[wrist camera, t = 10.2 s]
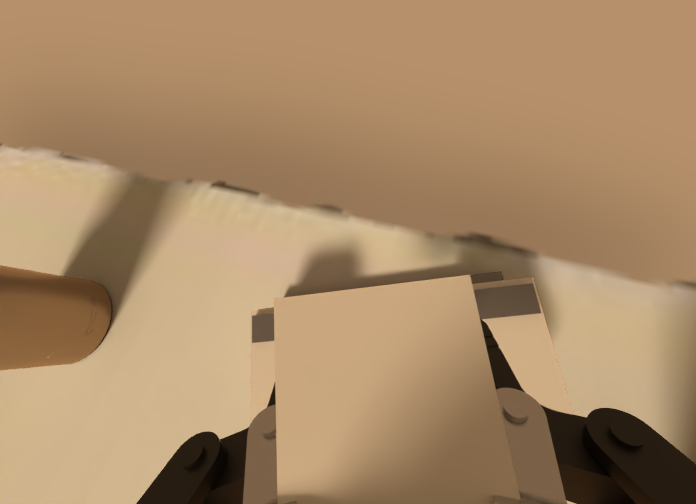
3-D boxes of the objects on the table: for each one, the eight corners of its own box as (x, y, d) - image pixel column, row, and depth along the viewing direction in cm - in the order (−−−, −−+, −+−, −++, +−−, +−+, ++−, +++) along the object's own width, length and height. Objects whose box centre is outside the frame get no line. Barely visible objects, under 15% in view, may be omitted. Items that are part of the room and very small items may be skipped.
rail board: (286, 432, 26) (246, 469, 19) (282, 300, 29) (247, 290, 22) (531, 418, 23) (589, 453, 16) (495, 274, 27) (530, 254, 20)
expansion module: (356, 428, 15) (279, 603, 5) (345, 315, 16) (273, 288, 7) (444, 423, 14) (545, 608, 4) (424, 306, 16) (467, 263, 6)
